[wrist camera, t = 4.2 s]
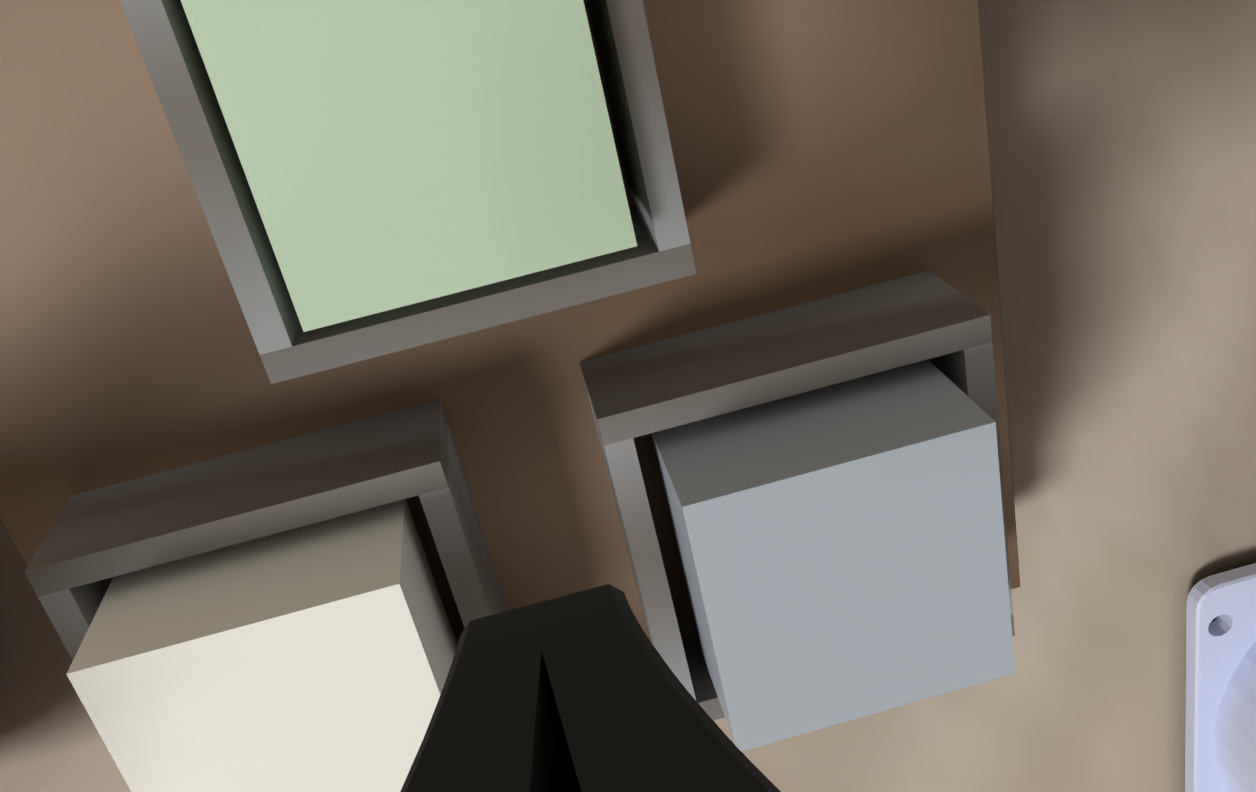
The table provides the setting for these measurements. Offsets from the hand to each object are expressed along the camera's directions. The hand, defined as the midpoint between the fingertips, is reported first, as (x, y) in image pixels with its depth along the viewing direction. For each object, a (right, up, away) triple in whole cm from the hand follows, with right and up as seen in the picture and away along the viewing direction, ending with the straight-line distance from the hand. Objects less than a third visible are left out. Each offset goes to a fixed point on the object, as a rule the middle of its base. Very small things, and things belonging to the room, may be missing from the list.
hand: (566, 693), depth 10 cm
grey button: (+3, +1, +7) cm, 7 cm away
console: (-2, +4, +8) cm, 9 cm away
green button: (-2, +6, +4) cm, 8 cm away
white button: (-4, -1, +6) cm, 8 cm away
